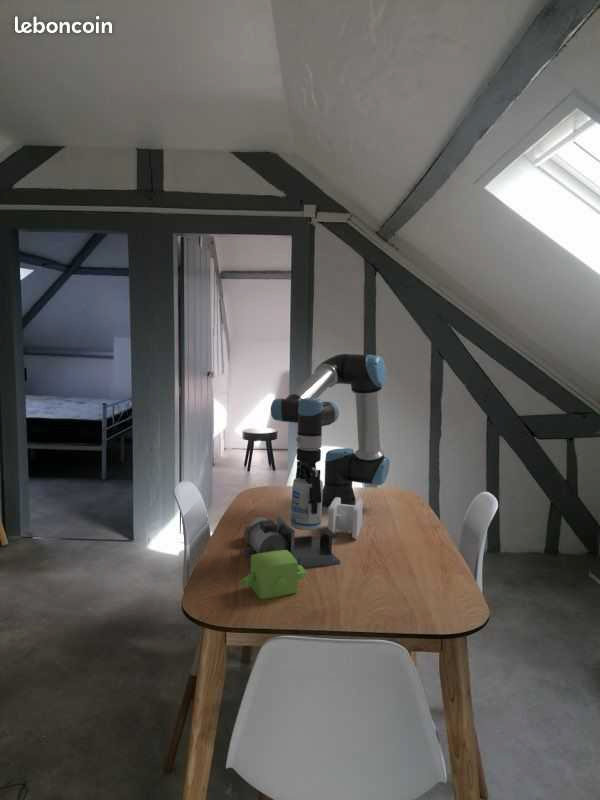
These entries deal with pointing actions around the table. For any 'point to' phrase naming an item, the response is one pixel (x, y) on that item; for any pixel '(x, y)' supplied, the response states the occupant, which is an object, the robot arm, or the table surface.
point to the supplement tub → (303, 505)
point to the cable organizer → (345, 517)
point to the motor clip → (291, 543)
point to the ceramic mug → (251, 526)
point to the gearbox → (274, 574)
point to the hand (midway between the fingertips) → (306, 518)
